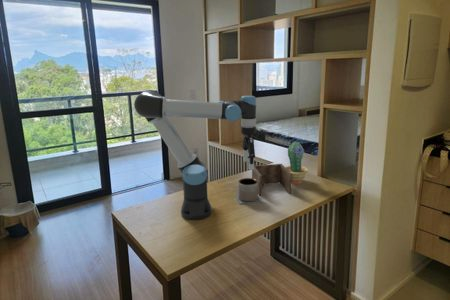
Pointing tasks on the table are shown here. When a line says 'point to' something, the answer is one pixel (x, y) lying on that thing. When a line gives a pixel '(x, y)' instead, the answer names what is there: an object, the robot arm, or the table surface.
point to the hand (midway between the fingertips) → (248, 165)
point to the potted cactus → (296, 163)
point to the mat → (247, 201)
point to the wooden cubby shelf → (272, 176)
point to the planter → (248, 189)
